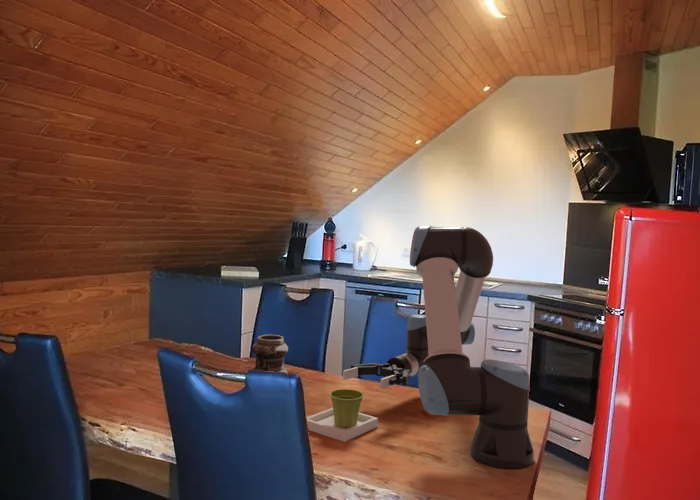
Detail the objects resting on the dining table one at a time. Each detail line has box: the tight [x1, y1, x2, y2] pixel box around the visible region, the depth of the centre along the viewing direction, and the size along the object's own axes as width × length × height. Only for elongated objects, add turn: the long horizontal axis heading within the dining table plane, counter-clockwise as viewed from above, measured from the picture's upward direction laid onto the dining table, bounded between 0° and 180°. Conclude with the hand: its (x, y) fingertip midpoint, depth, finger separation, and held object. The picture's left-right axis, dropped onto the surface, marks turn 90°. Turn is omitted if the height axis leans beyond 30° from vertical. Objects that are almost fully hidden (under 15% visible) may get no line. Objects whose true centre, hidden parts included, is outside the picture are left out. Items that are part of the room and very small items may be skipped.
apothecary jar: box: [252, 334, 289, 373], centre depth 194 cm, size 12×12×18 cm
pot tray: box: [306, 407, 379, 443], centre depth 161 cm, size 15×15×2 cm
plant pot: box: [329, 388, 365, 428], centre depth 160 cm, size 9×9×9 cm
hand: (362, 379), depth 169 cm, fingers open, 13 cm apart
